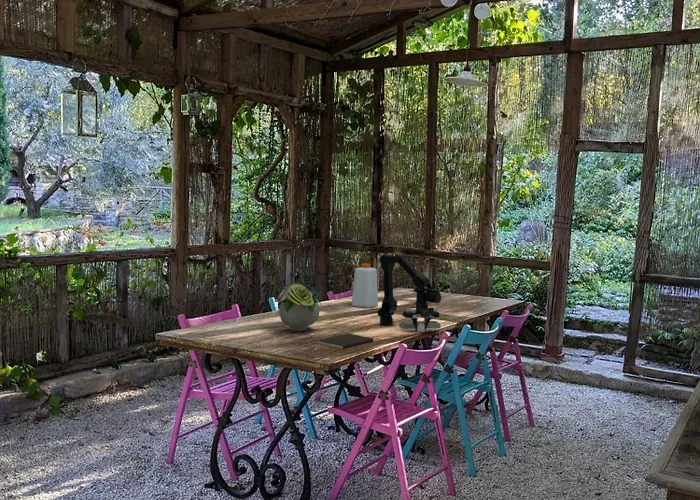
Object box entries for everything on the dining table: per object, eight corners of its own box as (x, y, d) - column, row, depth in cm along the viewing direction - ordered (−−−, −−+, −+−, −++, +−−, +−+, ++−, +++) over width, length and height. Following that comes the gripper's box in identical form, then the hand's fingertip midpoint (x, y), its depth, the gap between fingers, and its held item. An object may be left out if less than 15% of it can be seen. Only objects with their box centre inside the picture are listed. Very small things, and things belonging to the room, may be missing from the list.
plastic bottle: (359, 303, 433) (360, 262, 431) (379, 305, 427) (381, 263, 424) (349, 306, 420) (350, 263, 417) (370, 308, 413) (371, 265, 411)
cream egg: (417, 333, 338) (418, 323, 337) (415, 331, 342) (415, 321, 342) (425, 333, 339) (426, 322, 338) (422, 331, 343) (423, 321, 343)
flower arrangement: (269, 326, 346) (270, 281, 344) (314, 324, 355) (315, 280, 353) (281, 335, 323) (282, 287, 321) (328, 333, 331) (330, 286, 330)
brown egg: (405, 328, 347) (405, 317, 346) (402, 326, 351) (402, 316, 350) (412, 327, 348) (413, 317, 347) (410, 326, 352) (410, 316, 351)
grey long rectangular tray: (403, 330, 345) (403, 324, 344) (399, 327, 352) (399, 321, 352) (440, 329, 350) (440, 323, 349) (435, 327, 357) (435, 320, 357)
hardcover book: (317, 344, 307) (317, 339, 307) (348, 337, 325) (348, 333, 325) (343, 350, 297) (343, 345, 297) (373, 342, 315) (373, 338, 314)
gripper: (409, 303, 329) (408, 333, 330) (443, 303, 334) (442, 333, 335) (402, 300, 340) (401, 329, 341) (436, 300, 344) (435, 328, 345)
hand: (420, 330), depth 340 cm, fingers closed on cream egg, 4 cm apart
